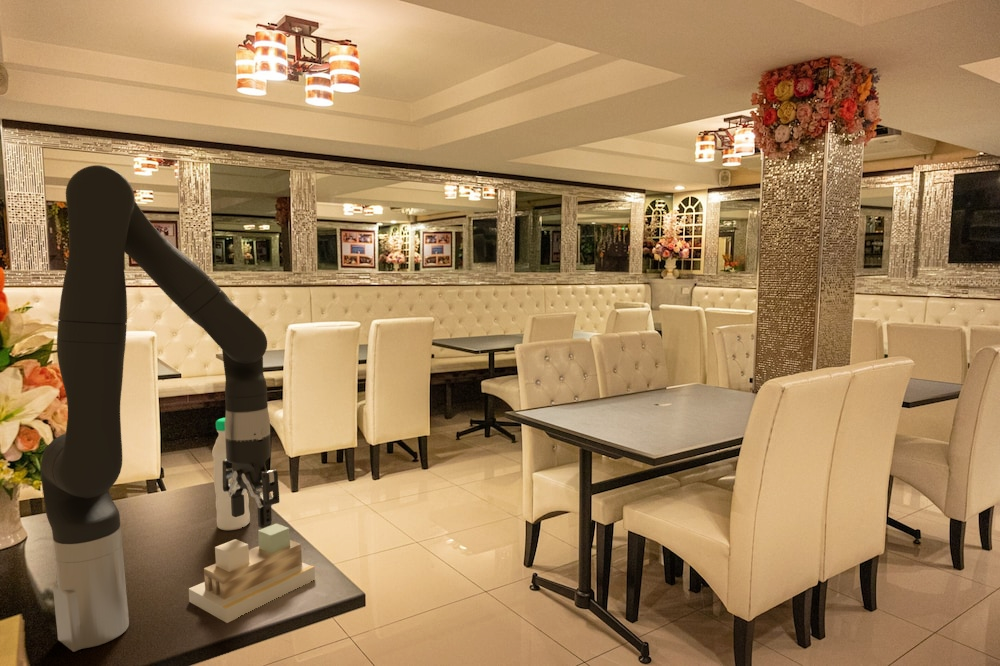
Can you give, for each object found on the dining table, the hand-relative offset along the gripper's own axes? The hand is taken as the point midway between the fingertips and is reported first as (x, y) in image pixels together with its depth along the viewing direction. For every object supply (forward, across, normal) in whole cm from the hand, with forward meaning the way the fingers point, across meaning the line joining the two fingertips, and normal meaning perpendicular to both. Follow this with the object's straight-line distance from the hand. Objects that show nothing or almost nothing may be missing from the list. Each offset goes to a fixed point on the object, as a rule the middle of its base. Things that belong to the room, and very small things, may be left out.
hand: (251, 521), depth 119 cm
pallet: (+11, 0, +1) cm, 11 cm away
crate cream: (+7, 0, -4) cm, 8 cm away
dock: (+13, 0, 0) cm, 13 cm away
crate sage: (+7, 0, +5) cm, 8 cm away
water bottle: (+13, -32, +15) cm, 37 cm away
